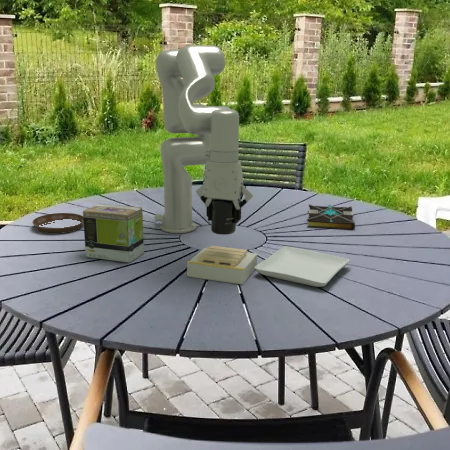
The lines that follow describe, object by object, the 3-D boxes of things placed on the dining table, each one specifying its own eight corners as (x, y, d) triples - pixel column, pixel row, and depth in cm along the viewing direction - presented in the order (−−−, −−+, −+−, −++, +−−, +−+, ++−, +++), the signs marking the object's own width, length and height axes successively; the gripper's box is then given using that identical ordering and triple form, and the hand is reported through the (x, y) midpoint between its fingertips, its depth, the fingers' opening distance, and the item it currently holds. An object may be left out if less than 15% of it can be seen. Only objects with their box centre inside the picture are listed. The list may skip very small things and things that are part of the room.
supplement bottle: (233, 236, 155) (233, 192, 152) (208, 234, 157) (208, 191, 153) (237, 228, 162) (238, 187, 158) (214, 227, 163) (214, 185, 160)
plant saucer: (89, 232, 196) (88, 224, 195) (35, 238, 190) (34, 229, 189) (81, 219, 212) (81, 211, 211) (31, 223, 205) (30, 215, 204)
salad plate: (324, 294, 149) (325, 282, 148) (252, 278, 159) (252, 266, 158) (350, 269, 167) (351, 258, 166) (283, 255, 177) (284, 245, 176)
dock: (187, 276, 159) (187, 257, 157) (205, 259, 172) (205, 242, 170) (242, 284, 154) (242, 265, 152) (256, 266, 167) (257, 248, 165)
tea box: (145, 253, 177) (143, 206, 172) (129, 264, 168) (127, 215, 163) (102, 247, 181) (99, 201, 177) (84, 257, 172) (81, 210, 168)
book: (354, 232, 201) (355, 218, 200) (306, 229, 204) (306, 215, 202) (351, 215, 222) (352, 202, 220) (307, 212, 224) (308, 200, 223)
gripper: (188, 156, 152) (189, 221, 158) (251, 161, 147) (249, 228, 152) (199, 152, 159) (199, 214, 164) (259, 156, 154) (257, 220, 159)
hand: (223, 220), depth 158 cm, fingers closed on supplement bottle, 6 cm apart
